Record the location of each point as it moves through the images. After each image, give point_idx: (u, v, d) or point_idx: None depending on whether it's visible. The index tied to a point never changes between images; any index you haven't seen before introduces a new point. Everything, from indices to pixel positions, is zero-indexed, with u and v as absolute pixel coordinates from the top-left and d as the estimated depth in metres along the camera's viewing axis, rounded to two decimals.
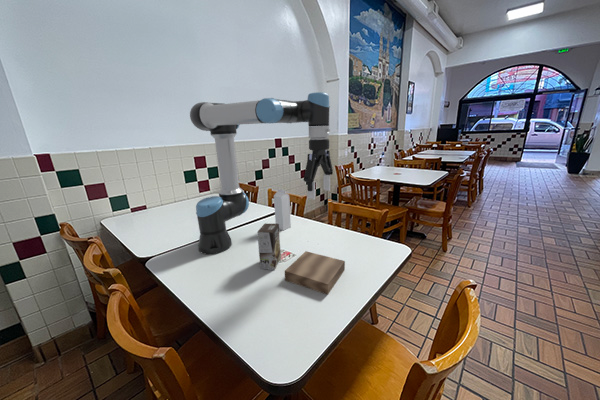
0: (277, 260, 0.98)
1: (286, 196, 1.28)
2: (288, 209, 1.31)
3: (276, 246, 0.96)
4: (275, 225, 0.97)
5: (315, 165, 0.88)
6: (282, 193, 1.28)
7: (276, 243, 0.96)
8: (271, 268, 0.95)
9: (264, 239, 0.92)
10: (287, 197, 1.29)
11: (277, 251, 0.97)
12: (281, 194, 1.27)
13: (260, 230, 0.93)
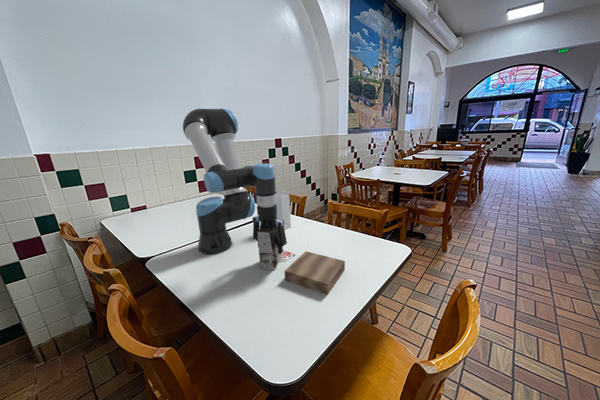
0: None
1: (286, 196, 1.28)
2: (288, 209, 1.31)
3: None
4: None
5: None
6: (282, 193, 1.28)
7: None
8: (271, 268, 0.95)
9: (264, 239, 0.92)
10: (287, 197, 1.29)
11: None
12: (281, 194, 1.27)
13: (260, 230, 0.93)
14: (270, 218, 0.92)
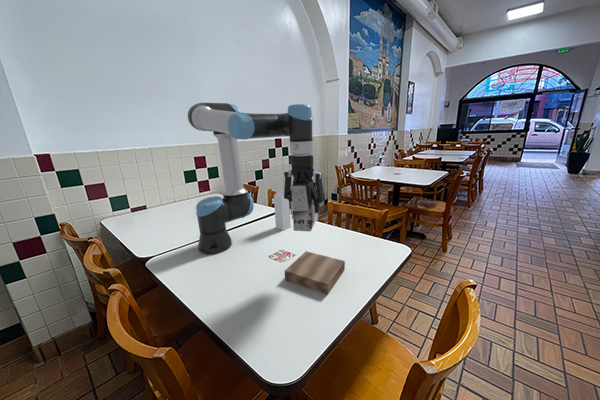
0: (312, 222, 0.84)
1: None
2: (288, 209, 1.31)
3: None
4: None
5: None
6: (282, 193, 1.28)
7: (312, 201, 0.83)
8: (306, 229, 0.82)
9: (299, 194, 0.79)
10: None
11: None
12: (281, 194, 1.27)
13: (294, 184, 0.80)
14: (306, 170, 0.79)
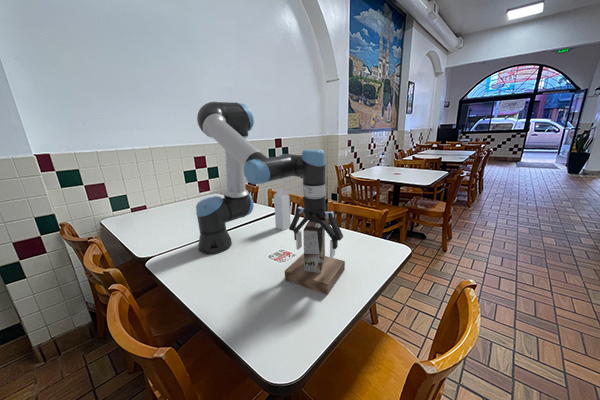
0: (322, 263, 0.87)
1: (286, 196, 1.28)
2: (288, 209, 1.31)
3: (322, 247, 0.85)
4: None
5: None
6: (282, 193, 1.28)
7: (323, 244, 0.86)
8: (317, 271, 0.85)
9: (311, 238, 0.82)
10: (287, 197, 1.29)
11: (323, 252, 0.87)
12: (281, 194, 1.27)
13: (306, 228, 0.83)
14: (318, 212, 0.82)
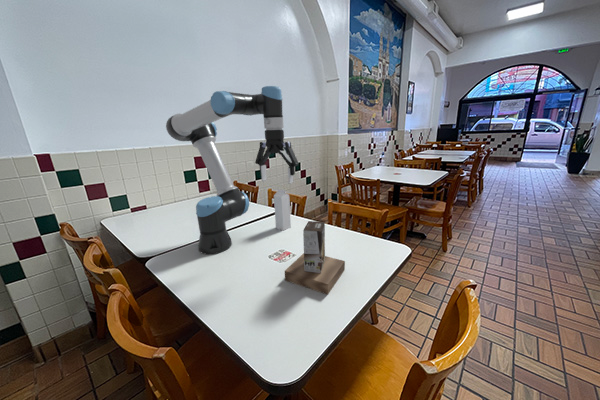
0: (322, 263, 0.87)
1: (286, 196, 1.28)
2: (288, 209, 1.31)
3: (322, 247, 0.85)
4: (321, 223, 0.87)
5: None
6: (282, 193, 1.28)
7: (323, 244, 0.86)
8: (317, 271, 0.85)
9: (311, 238, 0.82)
10: (287, 197, 1.29)
11: (323, 252, 0.87)
12: (281, 194, 1.27)
13: (306, 228, 0.83)
14: (277, 142, 0.96)
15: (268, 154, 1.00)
